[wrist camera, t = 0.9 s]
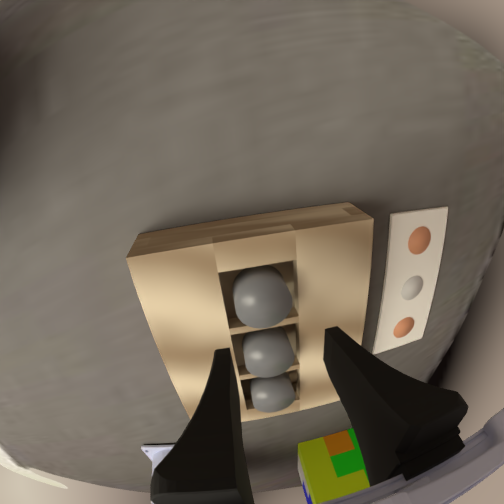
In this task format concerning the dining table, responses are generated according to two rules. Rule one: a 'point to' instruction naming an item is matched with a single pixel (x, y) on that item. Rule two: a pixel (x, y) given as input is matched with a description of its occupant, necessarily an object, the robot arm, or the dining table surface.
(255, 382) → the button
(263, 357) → the middle button
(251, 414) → the button board
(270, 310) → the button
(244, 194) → the dining table surface
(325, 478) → the puzzle toy
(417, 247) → the card
